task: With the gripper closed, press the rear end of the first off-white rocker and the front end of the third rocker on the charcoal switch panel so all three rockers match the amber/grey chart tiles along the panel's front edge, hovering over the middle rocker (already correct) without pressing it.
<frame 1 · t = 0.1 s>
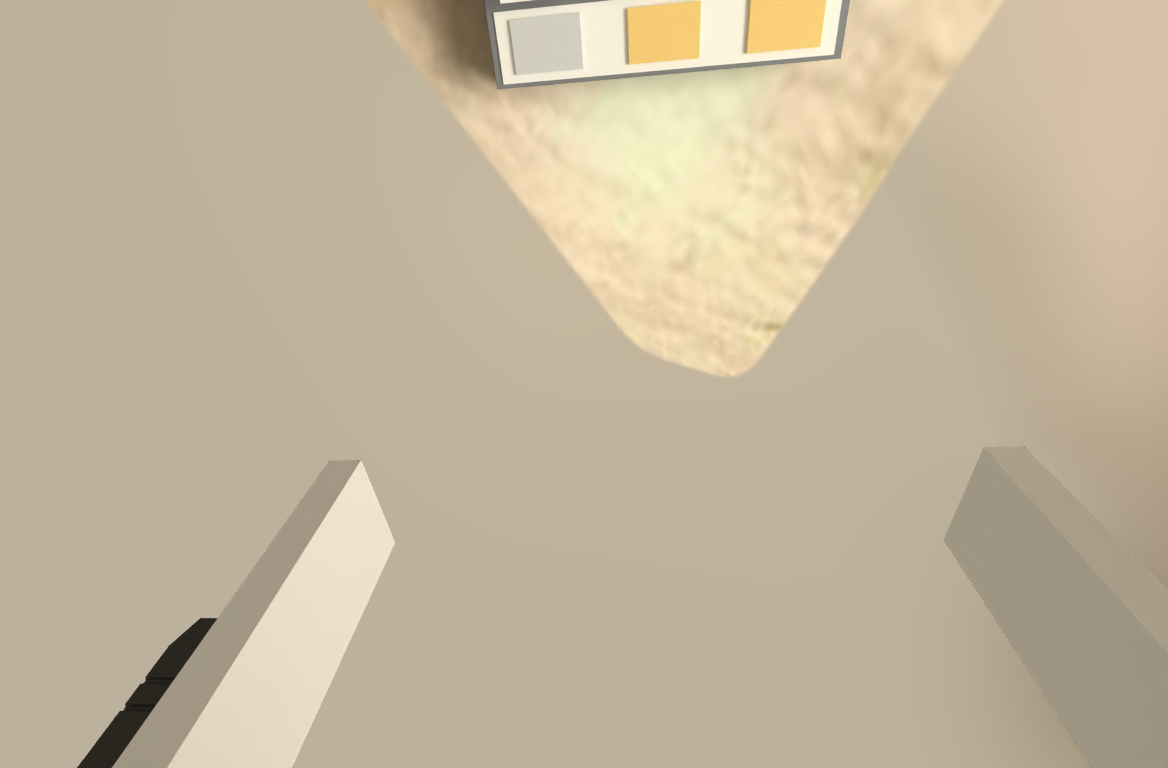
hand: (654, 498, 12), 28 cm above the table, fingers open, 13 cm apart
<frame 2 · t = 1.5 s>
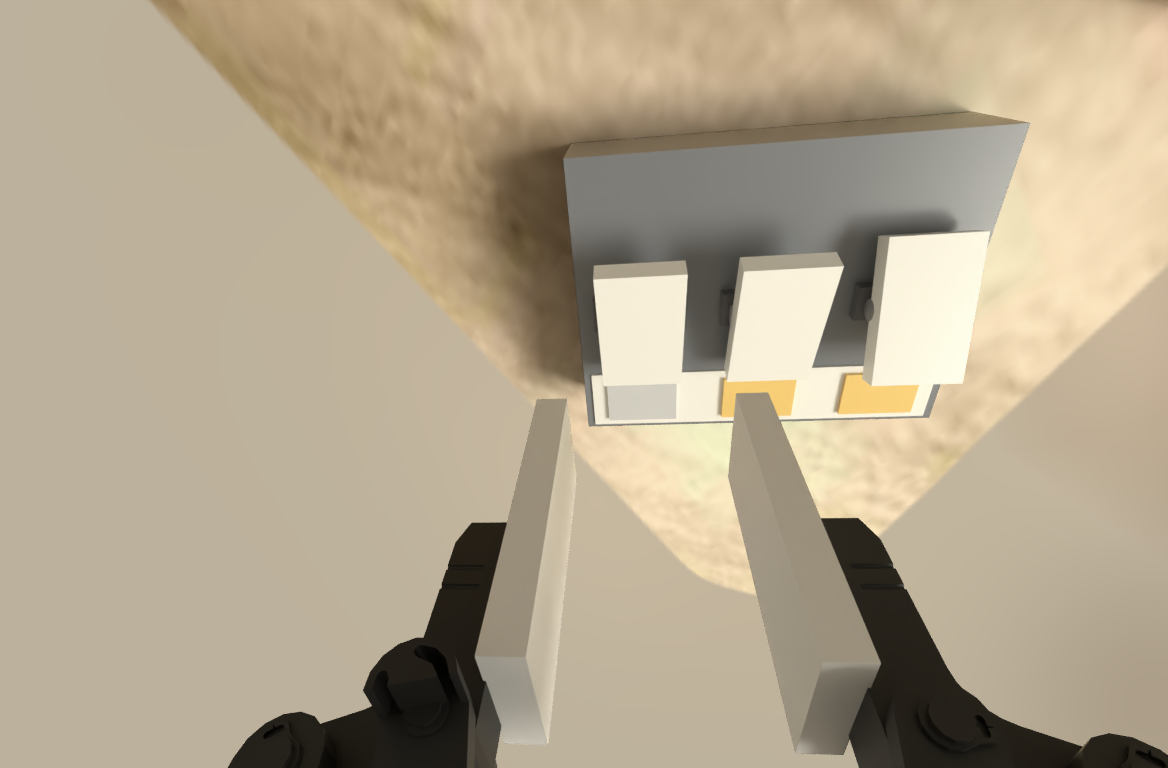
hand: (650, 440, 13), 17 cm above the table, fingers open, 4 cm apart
switch 1: (640, 324, 24), point 5 cm above the table, hinge at 14.0°
switch 2: (775, 318, 23), point 5 cm above the table, hinge at 14.0°
switch 3: (917, 309, 23), point 5 cm above the table, hinge at -14.0°
panel: (750, 272, 28), on the table
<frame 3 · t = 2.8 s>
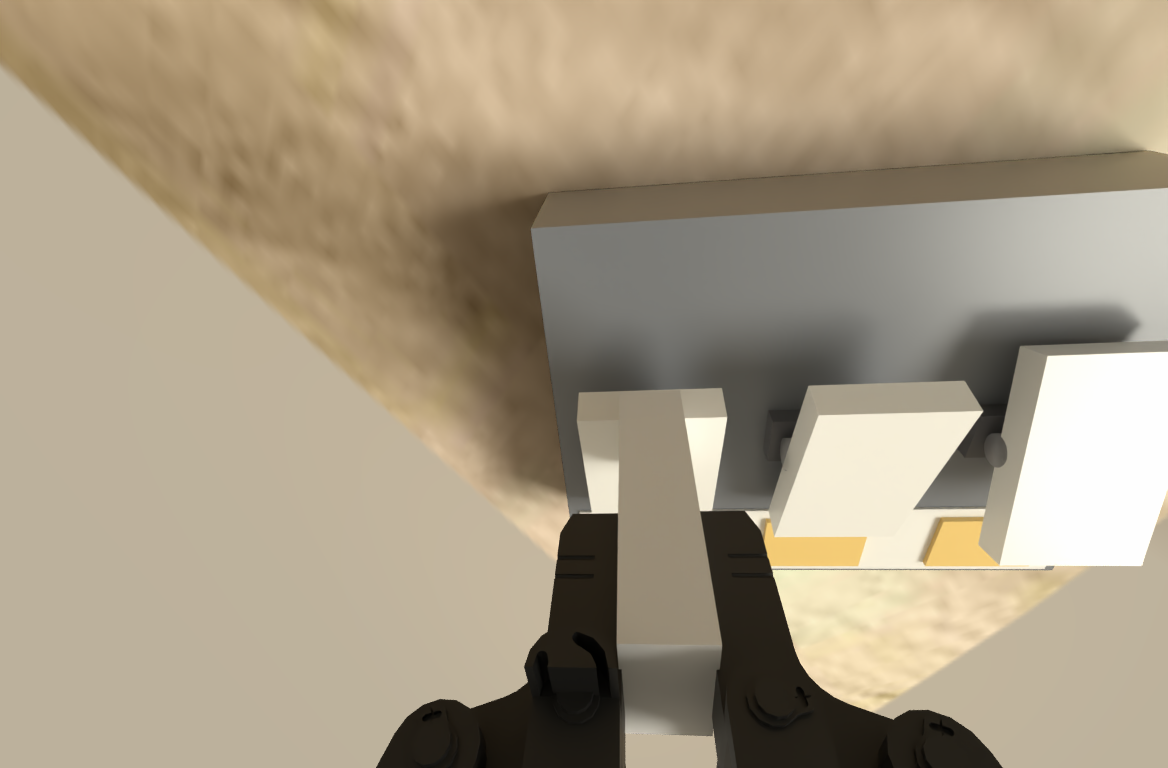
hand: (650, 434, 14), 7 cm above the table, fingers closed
switch 1: (650, 465, 16), point 5 cm above the table, hinge at 13.7°, touching gripper
switch 2: (852, 461, 16), point 5 cm above the table, hinge at 14.0°
switch 3: (1073, 453, 15), point 5 cm above the table, hinge at -14.0°
panel: (800, 364, 20), on the table
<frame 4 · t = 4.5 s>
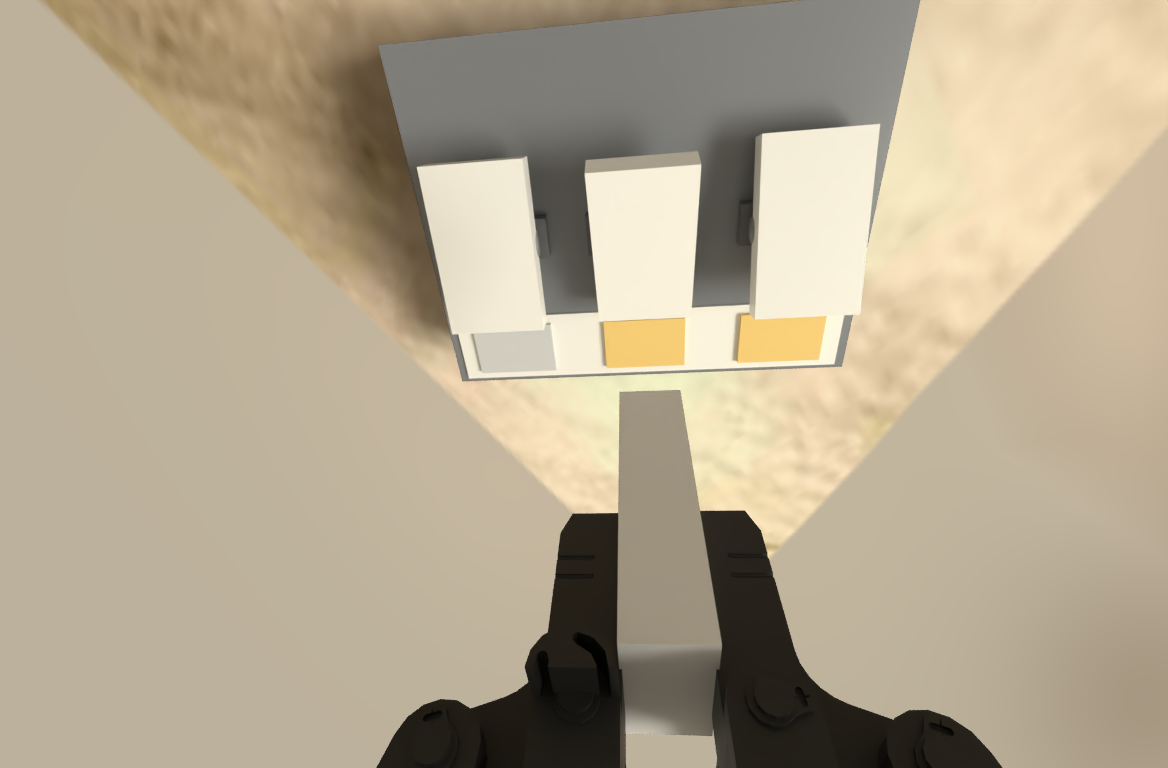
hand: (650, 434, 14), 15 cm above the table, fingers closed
switch 1: (489, 248, 20), point 5 cm above the table, hinge at -5.2°
switch 2: (642, 241, 20), point 5 cm above the table, hinge at 14.0°
switch 3: (806, 227, 19), point 5 cm above the table, hinge at -14.0°
panel: (639, 202, 24), on the table
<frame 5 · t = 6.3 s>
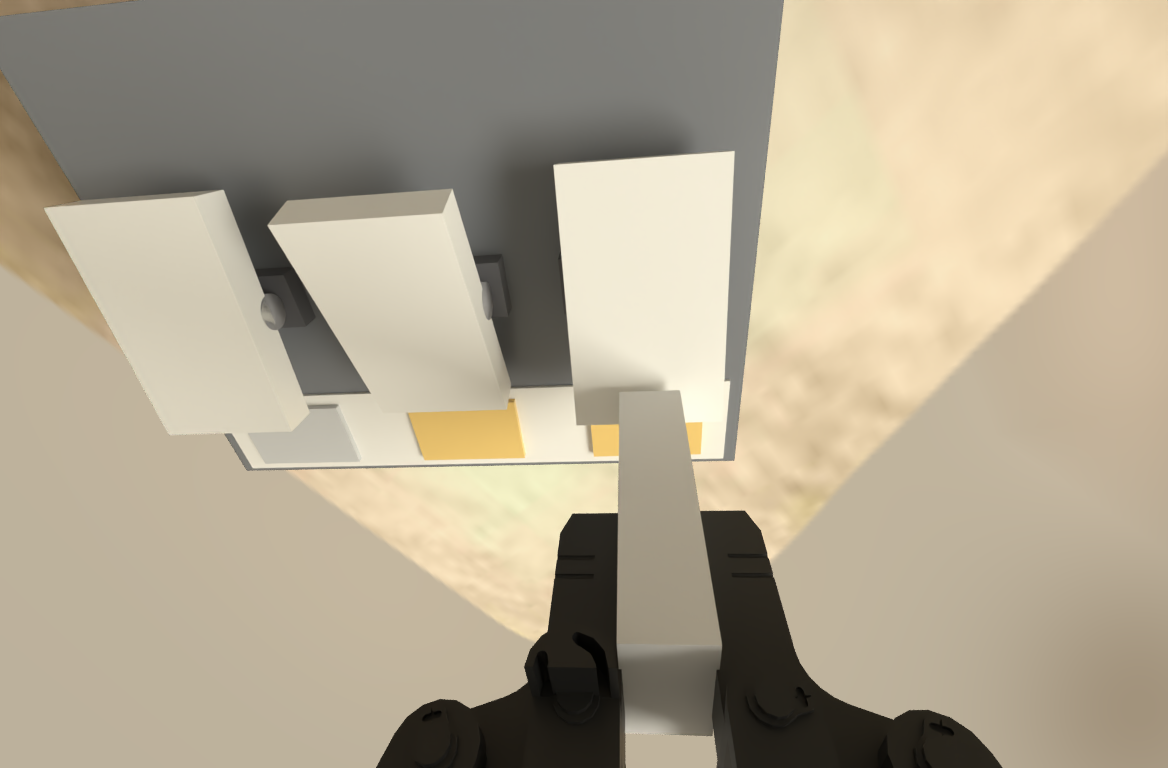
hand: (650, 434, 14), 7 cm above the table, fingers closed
switch 1: (201, 319, 14), point 5 cm above the table, hinge at -5.7°
switch 2: (415, 311, 14), point 5 cm above the table, hinge at 14.0°
switch 3: (644, 296, 13), point 5 cm above the table, hinge at -9.7°, touching gripper
panel: (465, 238, 18), on the table
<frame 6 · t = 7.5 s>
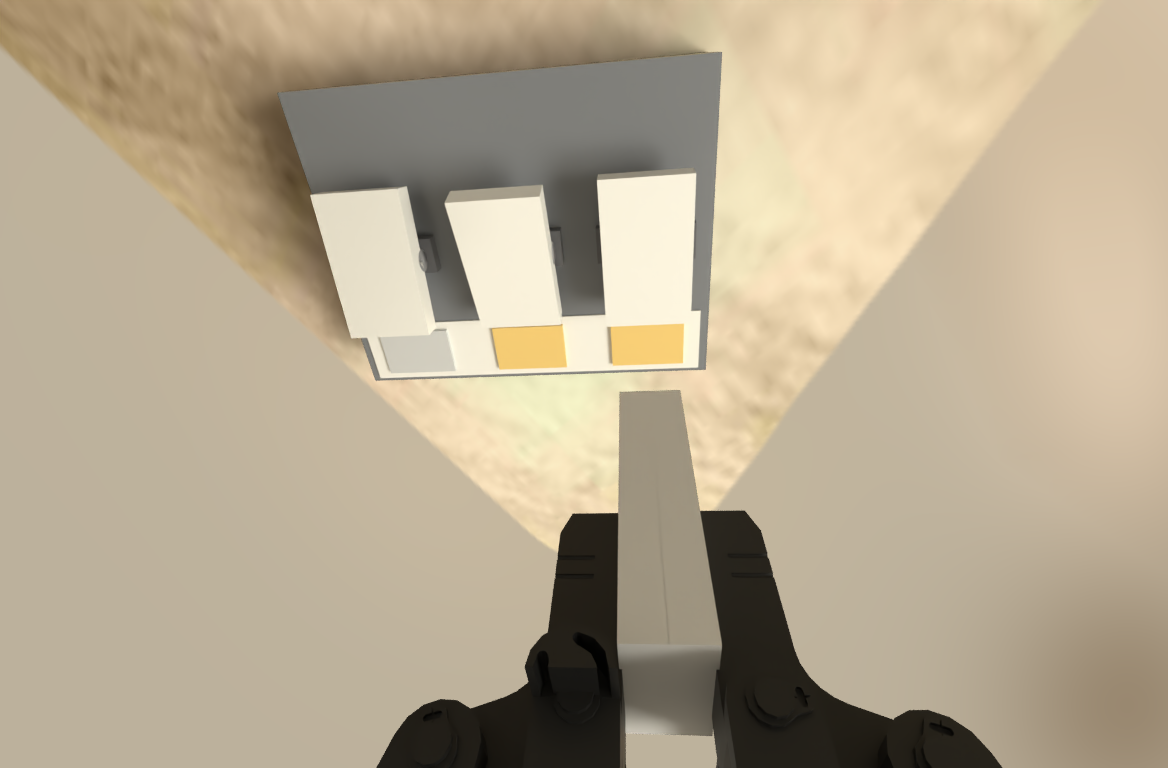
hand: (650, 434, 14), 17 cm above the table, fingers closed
switch 1: (380, 264, 24), point 5 cm above the table, hinge at -5.8°
switch 2: (510, 259, 23), point 5 cm above the table, hinge at 14.0°
switch 3: (646, 250, 22), point 5 cm above the table, hinge at 1.6°
panel: (529, 223, 28), on the table
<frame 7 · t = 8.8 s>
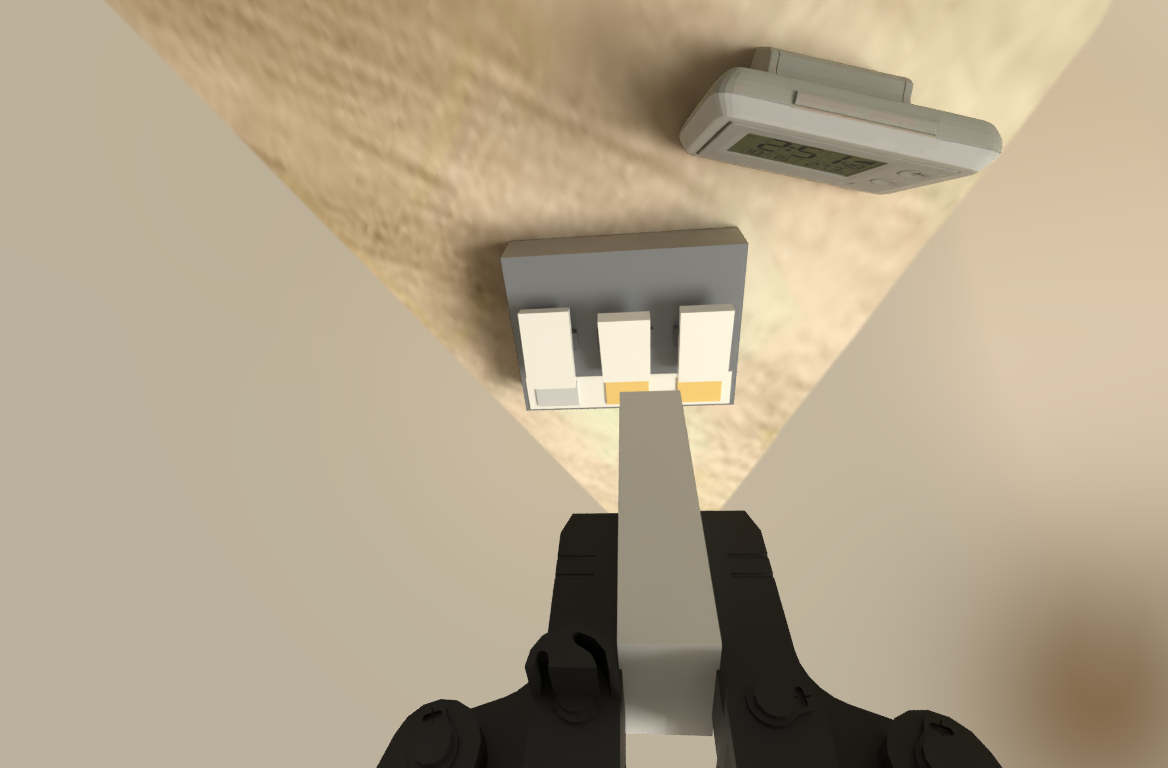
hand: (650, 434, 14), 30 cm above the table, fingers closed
switch 1: (548, 348, 41), point 5 cm above the table, hinge at -5.9°
switch 2: (625, 346, 40), point 5 cm above the table, hinge at 14.0°
digital clock: (793, 129, 37), on the table
switch 3: (703, 342, 40), point 5 cm above the table, hinge at 6.1°
panel: (624, 314, 45), on the table
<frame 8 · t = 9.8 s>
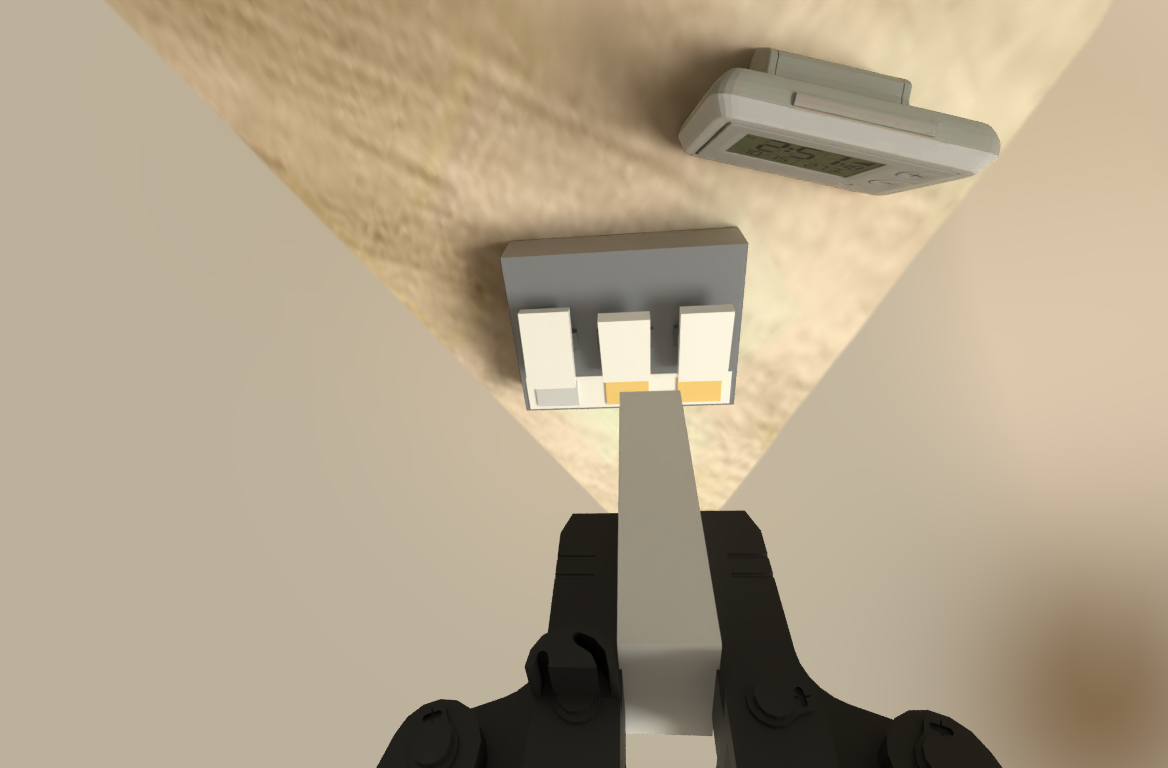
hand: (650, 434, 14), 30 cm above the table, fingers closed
switch 1: (548, 348, 41), point 5 cm above the table, hinge at -5.9°
switch 2: (625, 346, 40), point 5 cm above the table, hinge at 14.0°
digital clock: (792, 129, 37), on the table
switch 3: (703, 342, 40), point 5 cm above the table, hinge at 7.6°
panel: (625, 314, 45), on the table
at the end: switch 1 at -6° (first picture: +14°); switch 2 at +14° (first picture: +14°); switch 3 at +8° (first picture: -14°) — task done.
